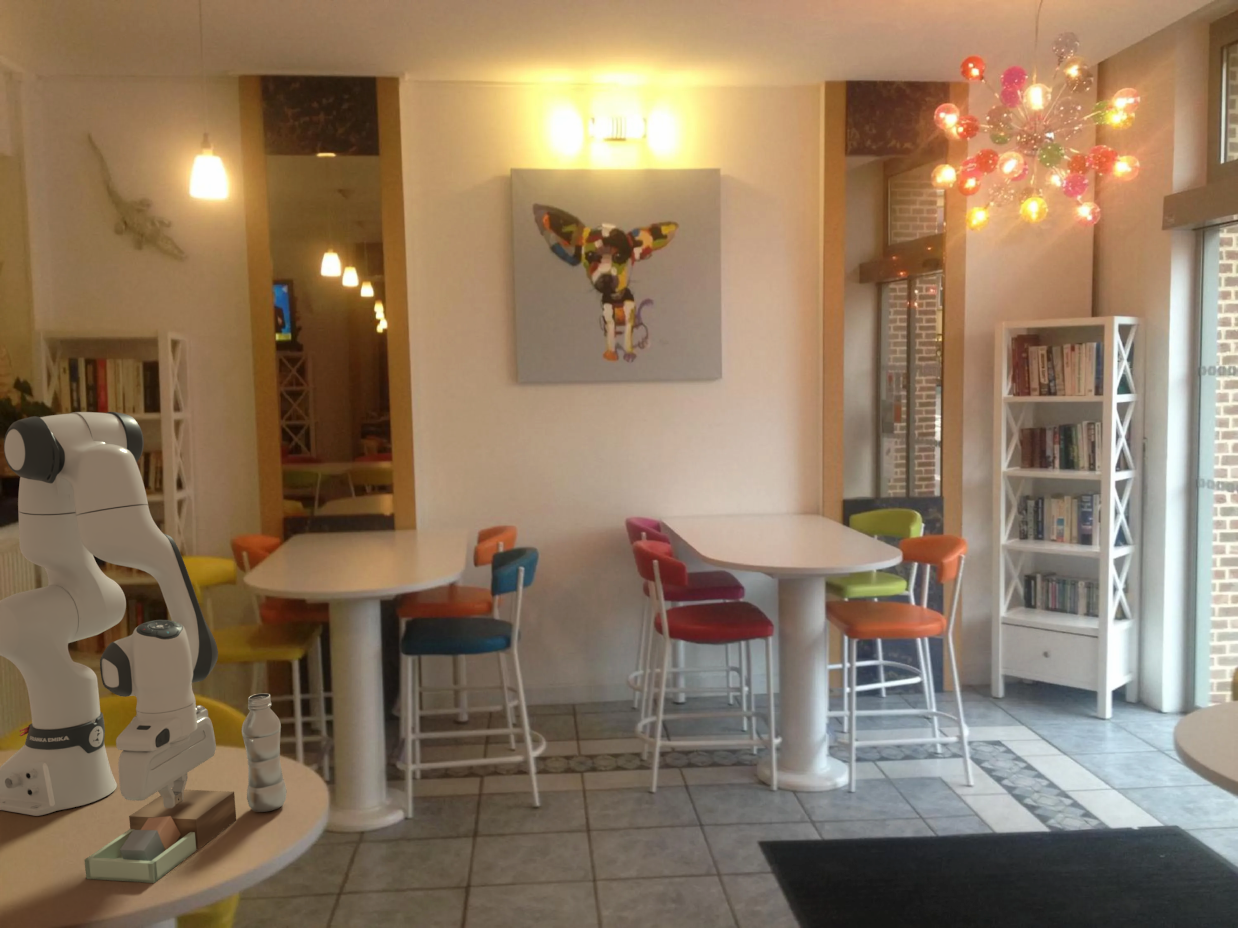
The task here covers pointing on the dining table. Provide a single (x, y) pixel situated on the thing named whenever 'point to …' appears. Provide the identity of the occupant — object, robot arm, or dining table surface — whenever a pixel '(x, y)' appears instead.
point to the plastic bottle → (263, 755)
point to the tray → (136, 861)
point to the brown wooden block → (193, 814)
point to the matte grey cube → (142, 845)
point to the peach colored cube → (163, 830)
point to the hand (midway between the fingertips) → (174, 804)
